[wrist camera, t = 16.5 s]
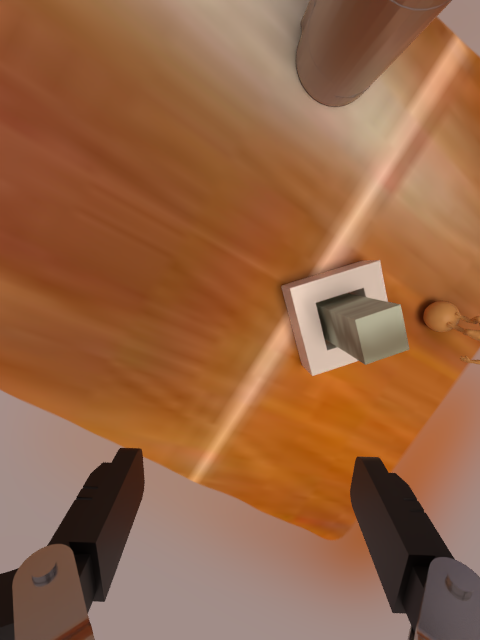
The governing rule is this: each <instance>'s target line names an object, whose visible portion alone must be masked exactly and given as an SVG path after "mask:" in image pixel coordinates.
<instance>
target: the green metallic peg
mask: <svg viewBox="0 0 480 640" xmlns="http://www.w3.org/2000/svg"><path fill="white" fill-rule="evenodd" d="M316 307H317V311H318V315H319V319H320V323H321V327H322V331H323V335H324V339H325V340H327V341H329V342H330V343H332V344H333V345H335V346H337V347H338V348H340V349H341V350H343V351H345V352H346V353H348V354H349V355H351V356H353V357H354V358H356V359H357V360H359V361H360V362H362V363H364V364H365V365H366V364H369V363H371V362H374V361H377V360H380V359H383V358H386V357H389V356H392V355H395V354H398V353H400V352H403V351H406V350H409V345H408V340H407V335H406V330H405V325H404V320H403V314H402V309H401V305H400V304H395V303H391V302H386V301H381V300H377V299H372V298H367V297H363V296H358V295H354V294H349V293H345V294H342V295H339V296H336V297H332V298H329V299H326V300H323V301H320V302H317V303H316Z"/></svg>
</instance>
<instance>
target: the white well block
mask: <svg viewBox="0 0 480 640" xmlns="http://www.w3.org/2000/svg"><path fill="white" fill-rule="evenodd" d="M281 287H282V291H283V295H284V299H285V303H286V306H287V310H288V314H289V318H290V322H291V325H292V329H293V333H294V337H295V341H296V344H297V348H298V352H299V356H300V360H301V363H302V366H303V367H304V368H305V369H306V370H307V371H308V372H309V373H310V374H311V375H312V376H314V375H317V374H320V373H323V372H326V371H329V370H332V369H335V368H338V367H341V366H344V365H347V364H350V363H353V362H356V361H359V360H357V359H356V358H354V357H353V356H351V355H349V354H348V353H346V352H345V351H343V350H341V349H340V348H338V347H337V346H335V345H333V344H332V343H330V342H329V341H327V340H325V339H324V335H323V331H322V327H321V323H320V319H319V315H318V311H317V307H316V303H317V302H320V301H323V300H326V299H329V298H332V297H336V296H339V295H342V294H345V293H348V292H350V294H354V295H358V296H363V297H367V298H372V299H377V300H381V301H386V302H388V300H387V295H386V290H385V285H384V279H383V274H382V269H381V264H380V260H369V261H359V262H356V263H353V264H350V265H346V266H343V267H340V268H337V269H333V270H330V271H327V272H324V273H321V274H317V275H314V276H311V277H308V278H304V279H301V280H298V281H295V282H291V283H288V284H285V285H282V286H281Z"/></svg>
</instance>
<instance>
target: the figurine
mask: <svg viewBox="0 0 480 640" xmlns="http://www.w3.org/2000/svg"><path fill="white" fill-rule="evenodd" d="M423 317H424V322H425V324H426V325H427V326H428V327H429V328H430V329H432V330H434V331H438V332H445V331H449V330H451V329H456V330H458V331H460V332H463V334H464V335H469V336H470V337H471V338H473V339H475V340H478V341H480V330H470V329H463V328H461V327H459V326H457V324H458V322H459V320H460V319H461V320H463V321H466V322H469V323H473V324H477V323H479V324H480V316H476V317H474V318H473V319H472V320H471V319H469V318H467V317H464V316H462V315H461V314H460V313H459V310H458V308H457V307H456V306H455V305H453V304H452V303H450V302H446V301H437V302H434V303H432V304H430V305H429V306H428V307H427V308H426V309H425V311H424V316H423ZM460 357H462V356H460ZM465 357H466V358H467V359H466V358H464V357H462V358H463V359H462V358H460V359H462V361H464V362H467V363H475V364H480V360H470V359H469V358H468V357H467V356H465Z"/></svg>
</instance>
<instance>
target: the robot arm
mask: <svg viewBox="0 0 480 640" xmlns="http://www.w3.org/2000/svg"><path fill="white" fill-rule="evenodd" d="M451 1H452V0H310V1H309V4H308V6H307V9H306V11H305V14H304V16H303V18H302V21H301V27H302V35H301V38H300V41H299V44H298V48H297V54H296V66H297V71H298V75H299V78H300V80H301V83H302V85H303V86H304V88H305V89H306V91H307V92H308V93H309V94H310V95H311V96H312V97H313V98H314V99H315V100H317V101H319V102H320V103H322V104H325V105H328V106H343V105H346V104H349V103H351V102H353V101H354V100H356V99H357V98H359V97H360V96H361V95H362V94H363V93H364V92H365V91H366V90H367V89H368V88H369V87H370V85H371V84H372V83H373V82H374V81H375V80H376V79H377V78H378V77H379V76H380V75H381V74H382V73H383V72H384V71H385V70H386V69H387V68H388V67H389V66H390V65H391V64H392V63H393V62H394V61H395V60H396V58H397V57H398V56H399V55H400V54H401V53H402V52H403V51H404V50H405V49H406V48H407V47H408V46H409V45H410V44H411V43H412V42H413V41H414V40H415V39H416V38H417V37H418V35H419V34H420V33H421V32H422V31H423V30H424V29H425V28H426V27H427V26H428V25H429V24H430V23H431V22H432V21H433V20H434V19H435V18H436V17H437V16H438V15H439V13H440V12H441V11H442V10H443V9H444V8H445V7H446V6H447V5H448V4H449V3H450V2H451ZM143 491H144V468H143V455H142V450H141V449H139V448H120V449H119V450H118V452H117V454H116V456H115V457H114V459H113V461H112V463H102V464H101V465H100V466H99V467H98V468H96V469H95V470H94V471H93V472H92V473H91V474H90V476H89V477H88V479H87V481H86V482H85V484H84V486H83V489H81V491H80V492H79V494H78V496H77V498H76V500H75V501H74V502H73V504H72V506H71V507H70V509H69V511H68V512H67V514H66V516H65V517H64V519H63V521H62V522H61V524H60V526H59V527H58V529H57V531H56V532H55V534H54V536H53V537H52V539H51V541H50V542H49V544H48V545H47V546H46V547H44V548H41V549H40V550H38V551H36V552H35V553H33V554H32V555H31V556H29V557H28V558H27V559H26V560H25V561H24V562H23V564H22V565H21V566H20V567H19V568H18V569H15V570H12V571H10V572H6V573H3V574H0V640H95V639H94V636H93V631H92V627H91V624H90V622H89V618H88V611H89V609H90V606H91V604H92V601H100V602H104V601H105V599H106V596H107V593H108V591H109V588H110V585H111V582H112V580H113V577H114V575H115V572H116V569H117V566H118V563H119V561H120V558H121V555H122V552H123V550H124V547H125V544H126V541H127V538H128V536H129V533H130V530H131V528H132V525H133V522H134V519H135V516H136V514H137V511H138V508H139V506H140V502H141V500H142V496H143ZM350 496H351V503H352V507H353V510H354V512H355V515H356V518H357V520H358V523H359V526H360V528H361V531H362V533H363V536H364V539H365V541H366V544H367V546H368V549H369V552H370V555H371V557H372V560H373V562H374V565H375V568H376V570H377V573H378V576H379V578H380V581H381V583H382V586H383V589H384V591H385V594H386V596H387V599H388V602H389V604H390V607H391V609H392V612H393V613H406V614H407V616H408V618H409V621H410V623H411V628H410V631H409V636H408V640H480V577H479V576H478V575H477V574H476V573H475V572H474V571H473V570H472V569H470V568H469V567H467V566H466V565H464V564H463V563H461V562H459V561H457V560H455V559H454V557H453V556H452V554H451V553H450V551H449V550H448V548H447V546H446V545H445V543H444V541H443V540H442V538H441V537H440V535H439V533H438V532H437V530H436V529H435V527H434V525H433V524H432V522H431V521H430V519H429V517H428V516H427V514H426V513H424V509H423V508H422V506H421V504H420V503H419V502H418V501H417V498H416V497H415V495H414V493H413V492H412V490H411V488H410V487H409V485H408V484H407V483H406V482H405V481H403V480H402V479H401V478H400V477H399V476H398V475H397V474H396V473H388V471H387V469H386V468H385V466H384V464H383V462H382V461H381V459H380V458H378V457H357V458H356V461H355V466H354V472H353V477H352V483H351V489H350Z"/></svg>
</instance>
